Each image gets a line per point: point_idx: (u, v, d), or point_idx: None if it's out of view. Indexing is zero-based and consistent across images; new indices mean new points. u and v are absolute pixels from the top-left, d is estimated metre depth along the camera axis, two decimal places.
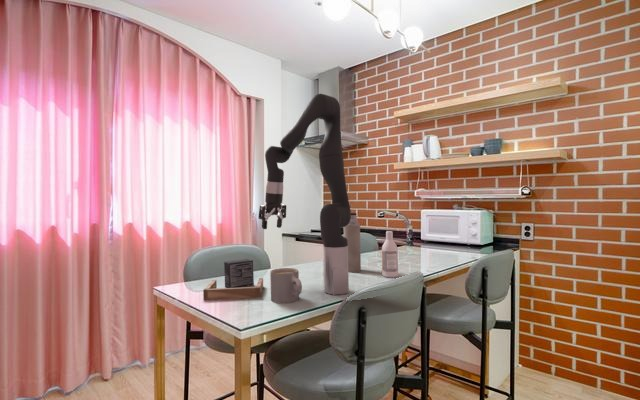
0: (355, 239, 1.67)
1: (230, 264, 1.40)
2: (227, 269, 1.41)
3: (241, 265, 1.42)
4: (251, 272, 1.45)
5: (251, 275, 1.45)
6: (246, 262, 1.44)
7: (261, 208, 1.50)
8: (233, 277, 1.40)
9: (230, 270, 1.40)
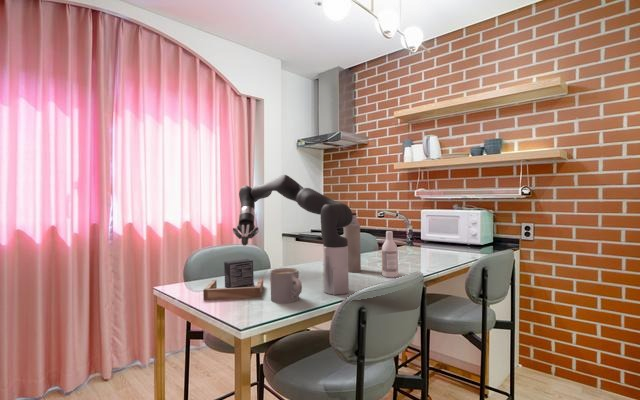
0: (355, 239, 1.67)
1: (230, 264, 1.40)
2: (227, 269, 1.41)
3: (241, 265, 1.42)
4: (251, 272, 1.45)
5: (251, 275, 1.45)
6: (246, 262, 1.44)
7: (257, 231, 1.71)
8: (233, 277, 1.40)
9: (230, 270, 1.40)
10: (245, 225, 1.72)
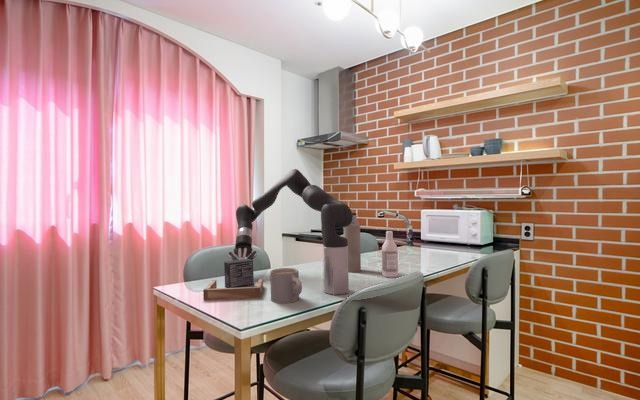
0: (355, 239, 1.67)
1: (230, 264, 1.40)
2: (227, 269, 1.41)
3: (241, 265, 1.42)
4: (251, 272, 1.45)
5: (251, 275, 1.45)
6: (246, 262, 1.44)
7: (255, 255, 1.59)
8: (233, 277, 1.40)
9: (230, 270, 1.40)
10: (242, 248, 1.60)
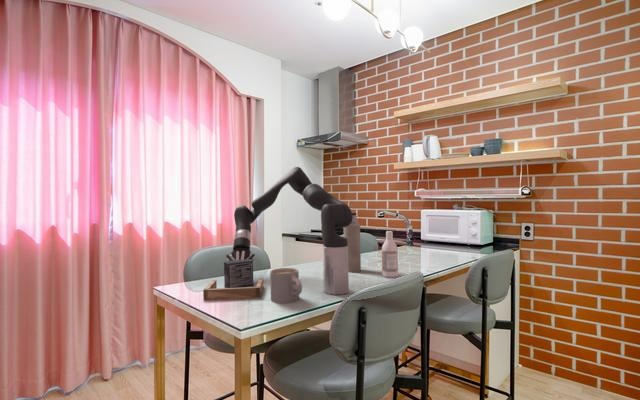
0: (355, 239, 1.67)
1: (230, 264, 1.39)
2: (227, 269, 1.40)
3: (241, 266, 1.42)
4: (251, 272, 1.44)
5: (251, 275, 1.44)
6: (246, 262, 1.43)
7: (253, 258, 1.54)
8: (233, 277, 1.40)
9: (230, 270, 1.39)
10: (240, 251, 1.55)
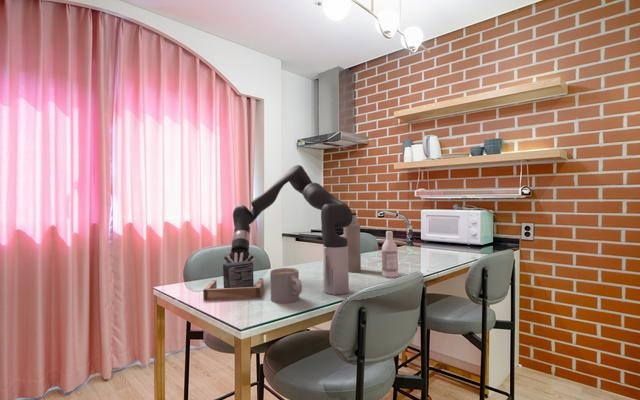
0: (355, 239, 1.67)
1: (229, 267, 1.34)
2: (226, 272, 1.36)
3: (241, 268, 1.37)
4: (251, 275, 1.39)
5: (251, 278, 1.39)
6: (246, 264, 1.38)
7: (252, 260, 1.49)
8: (232, 280, 1.35)
9: (229, 273, 1.34)
10: (238, 253, 1.50)
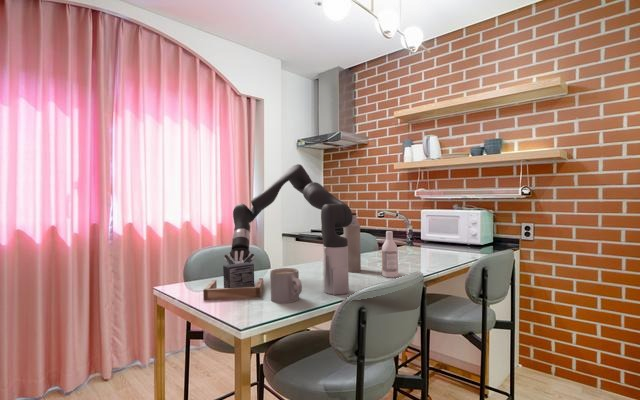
0: (355, 239, 1.67)
1: (230, 268, 1.32)
2: (226, 273, 1.33)
3: (242, 269, 1.34)
4: (252, 276, 1.36)
5: (252, 280, 1.36)
6: (246, 266, 1.35)
7: (252, 258, 1.50)
8: (233, 281, 1.32)
9: (230, 274, 1.32)
10: (239, 251, 1.51)
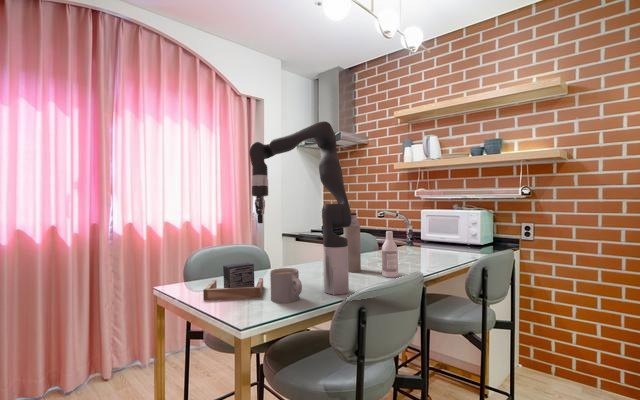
0: (355, 239, 1.67)
1: (230, 268, 1.32)
2: (226, 273, 1.33)
3: (242, 269, 1.34)
4: (252, 276, 1.36)
5: (252, 280, 1.36)
6: (246, 266, 1.35)
7: None
8: (233, 281, 1.32)
9: (230, 274, 1.32)
10: (262, 199, 1.61)
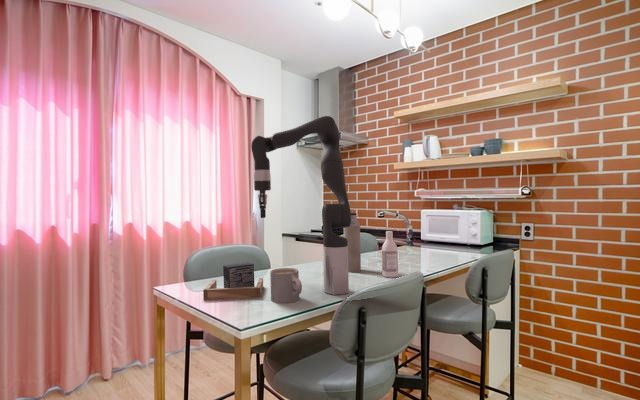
0: (355, 239, 1.67)
1: (230, 268, 1.32)
2: (226, 273, 1.33)
3: (242, 269, 1.34)
4: (252, 276, 1.36)
5: (252, 280, 1.36)
6: (246, 266, 1.35)
7: None
8: (233, 281, 1.32)
9: (230, 274, 1.32)
10: (265, 194, 1.61)
